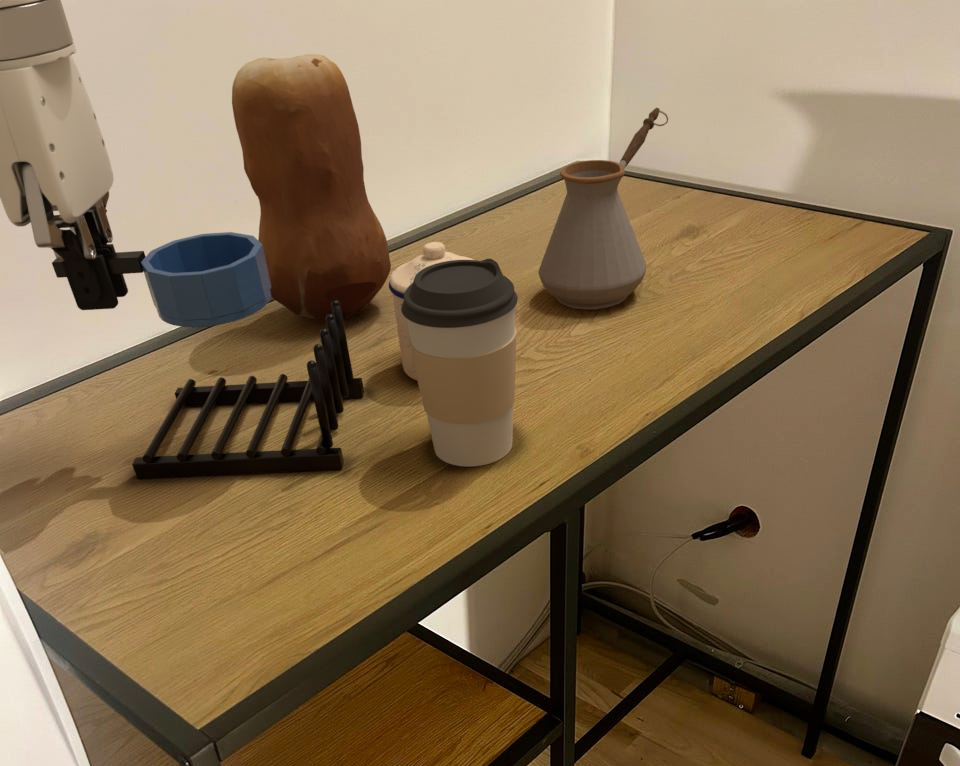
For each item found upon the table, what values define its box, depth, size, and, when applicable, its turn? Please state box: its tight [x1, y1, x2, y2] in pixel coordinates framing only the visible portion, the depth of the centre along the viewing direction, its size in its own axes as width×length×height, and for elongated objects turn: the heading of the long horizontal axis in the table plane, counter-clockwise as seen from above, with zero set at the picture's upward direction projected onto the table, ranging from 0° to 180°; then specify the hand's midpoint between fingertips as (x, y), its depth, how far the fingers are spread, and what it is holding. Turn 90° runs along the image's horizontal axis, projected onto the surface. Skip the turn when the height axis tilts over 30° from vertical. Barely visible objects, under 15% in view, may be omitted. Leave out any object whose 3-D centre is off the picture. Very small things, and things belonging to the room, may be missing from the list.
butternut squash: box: [231, 53, 392, 320], centre depth 97 cm, size 14×13×25 cm
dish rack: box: [131, 300, 365, 480], centre depth 83 cm, size 18×14×9 cm
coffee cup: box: [401, 258, 519, 468], centre depth 77 cm, size 9×9×15 cm
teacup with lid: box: [388, 241, 519, 382], centre depth 90 cm, size 12×9×12 cm
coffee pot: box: [538, 107, 669, 310], centre depth 102 cm, size 21×12×15 cm, turn 147°
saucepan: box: [51, 231, 272, 328], centre depth 75 cm, size 16×9×4 cm, turn 87°
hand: (103, 300), depth 76 cm, fingers closed on saucepan, 1 cm apart
